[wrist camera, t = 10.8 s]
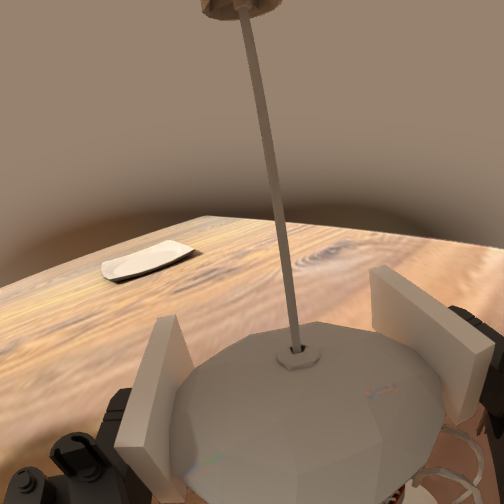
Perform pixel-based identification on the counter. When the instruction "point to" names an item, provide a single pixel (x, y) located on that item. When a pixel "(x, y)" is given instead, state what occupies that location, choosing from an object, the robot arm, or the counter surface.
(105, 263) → the plate
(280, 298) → the counter surface
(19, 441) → the counter surface
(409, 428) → the french press
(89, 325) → the counter surface
